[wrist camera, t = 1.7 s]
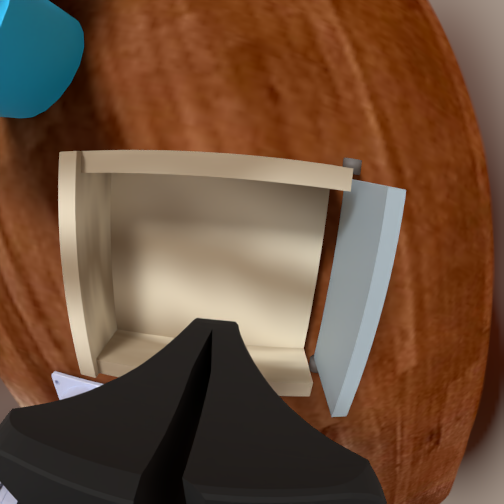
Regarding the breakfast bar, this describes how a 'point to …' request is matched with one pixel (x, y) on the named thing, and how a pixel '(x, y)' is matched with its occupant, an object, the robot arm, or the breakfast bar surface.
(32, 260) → the breakfast bar surface
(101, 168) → the box
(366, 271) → the panel
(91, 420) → the robot arm
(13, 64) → the mug
